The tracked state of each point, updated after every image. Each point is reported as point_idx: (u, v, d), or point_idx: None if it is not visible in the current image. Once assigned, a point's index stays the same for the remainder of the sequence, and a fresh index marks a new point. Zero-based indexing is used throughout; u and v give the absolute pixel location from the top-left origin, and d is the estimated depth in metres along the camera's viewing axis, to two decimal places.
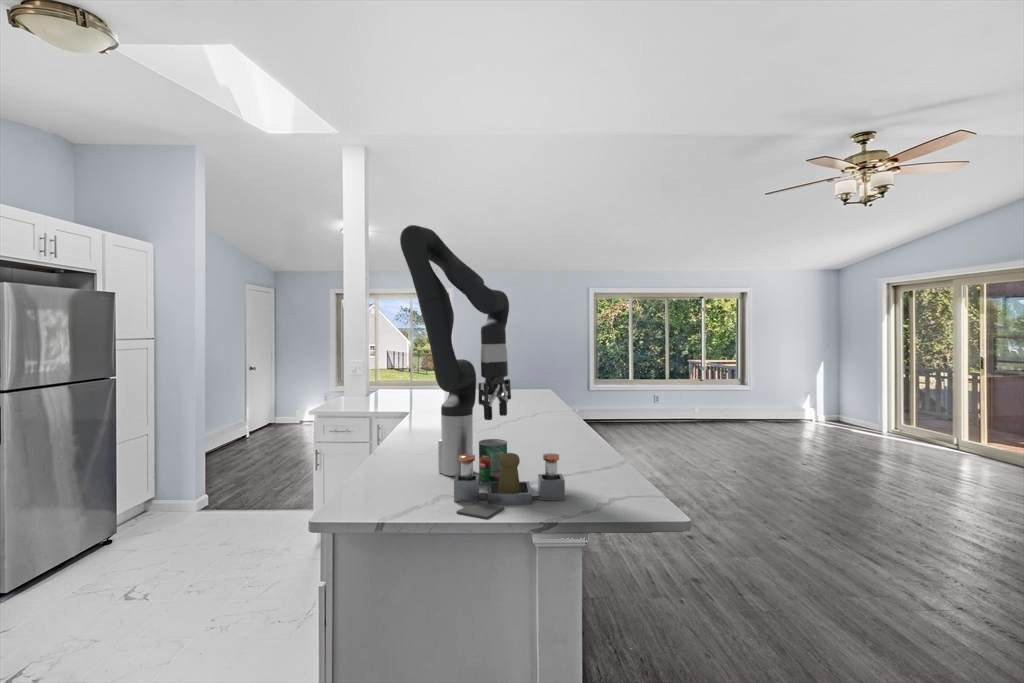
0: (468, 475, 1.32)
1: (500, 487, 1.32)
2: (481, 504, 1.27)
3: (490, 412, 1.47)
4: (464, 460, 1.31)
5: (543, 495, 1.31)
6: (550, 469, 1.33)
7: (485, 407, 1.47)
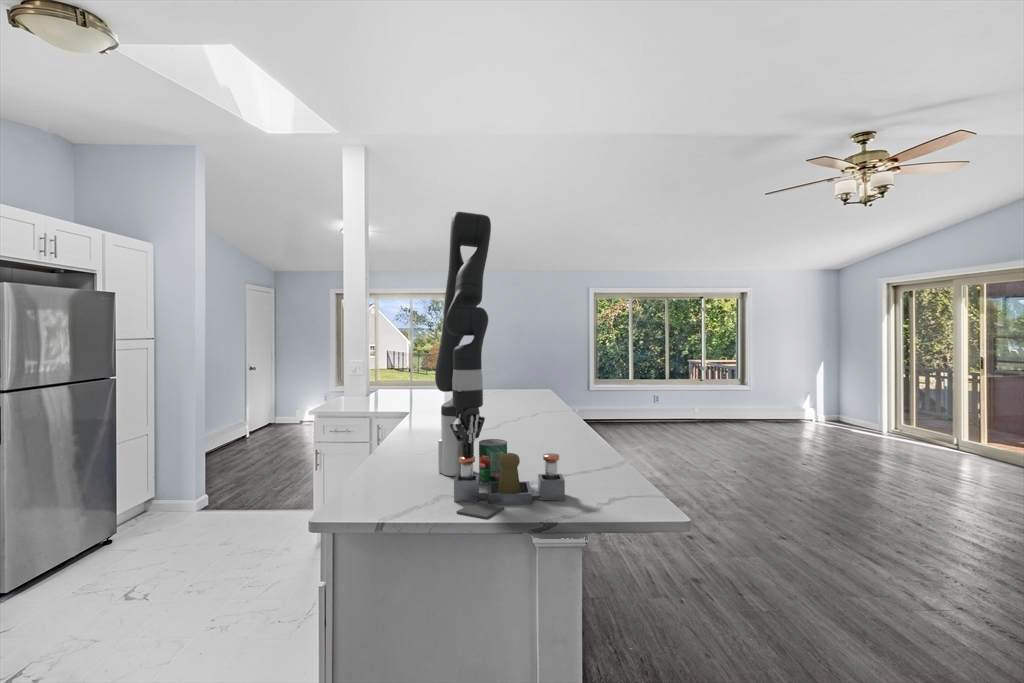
0: (468, 476, 1.32)
1: (500, 487, 1.32)
2: (481, 504, 1.27)
3: (470, 449, 1.32)
4: (464, 461, 1.31)
5: (543, 495, 1.31)
6: (550, 469, 1.33)
7: (464, 444, 1.32)
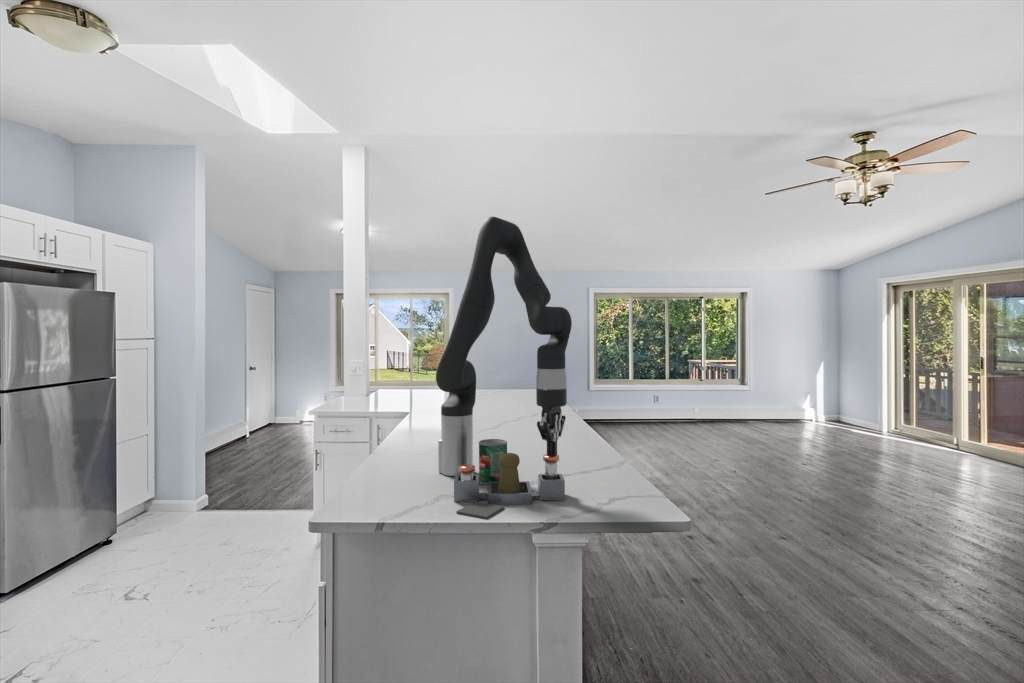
0: None
1: (500, 487, 1.32)
2: (481, 504, 1.27)
3: (554, 448, 1.33)
4: (464, 471, 1.31)
5: (543, 495, 1.31)
6: (550, 469, 1.33)
7: (549, 442, 1.33)
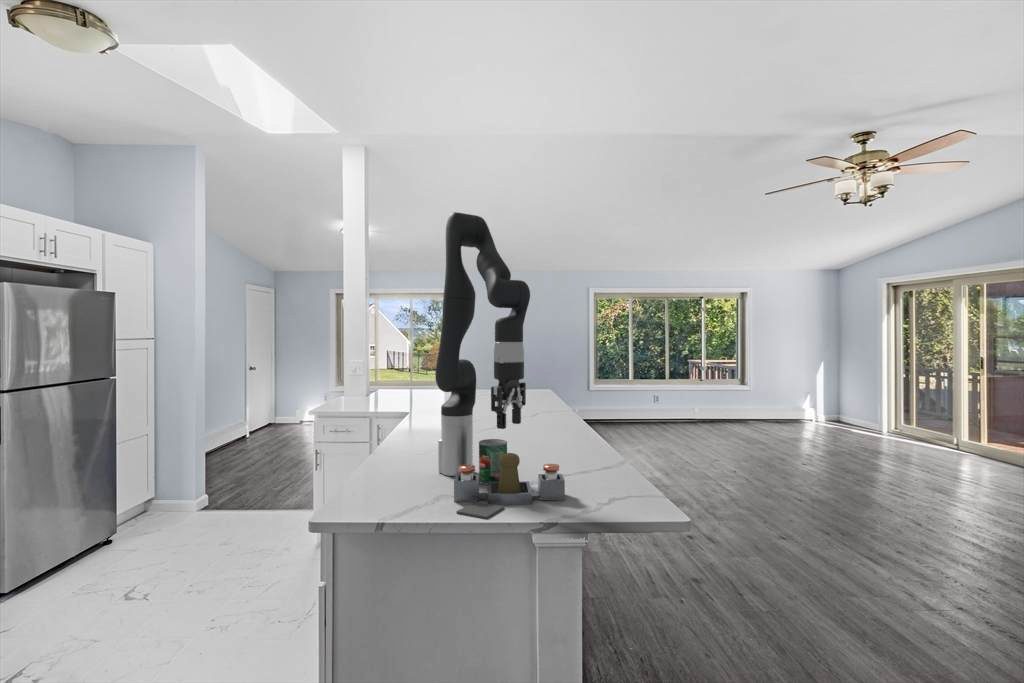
0: None
1: (500, 487, 1.32)
2: (481, 504, 1.27)
3: (504, 420, 1.29)
4: (464, 471, 1.31)
5: (543, 495, 1.31)
6: (550, 479, 1.33)
7: (498, 414, 1.29)
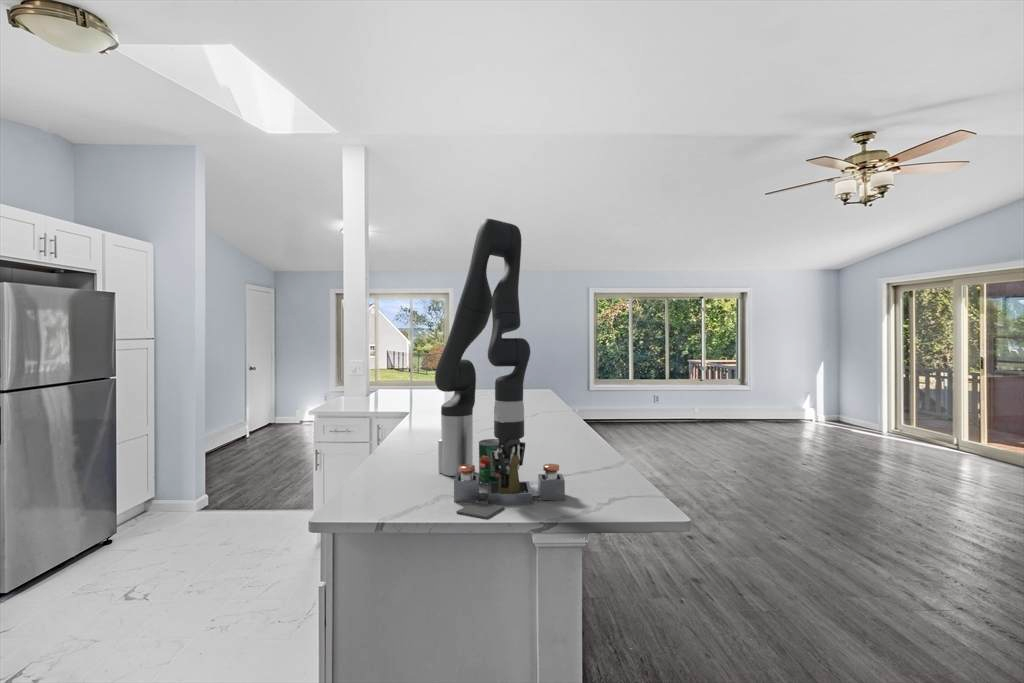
0: None
1: (500, 487, 1.32)
2: (481, 504, 1.27)
3: (507, 481, 1.31)
4: (464, 471, 1.31)
5: (543, 495, 1.31)
6: (550, 479, 1.33)
7: (502, 475, 1.31)
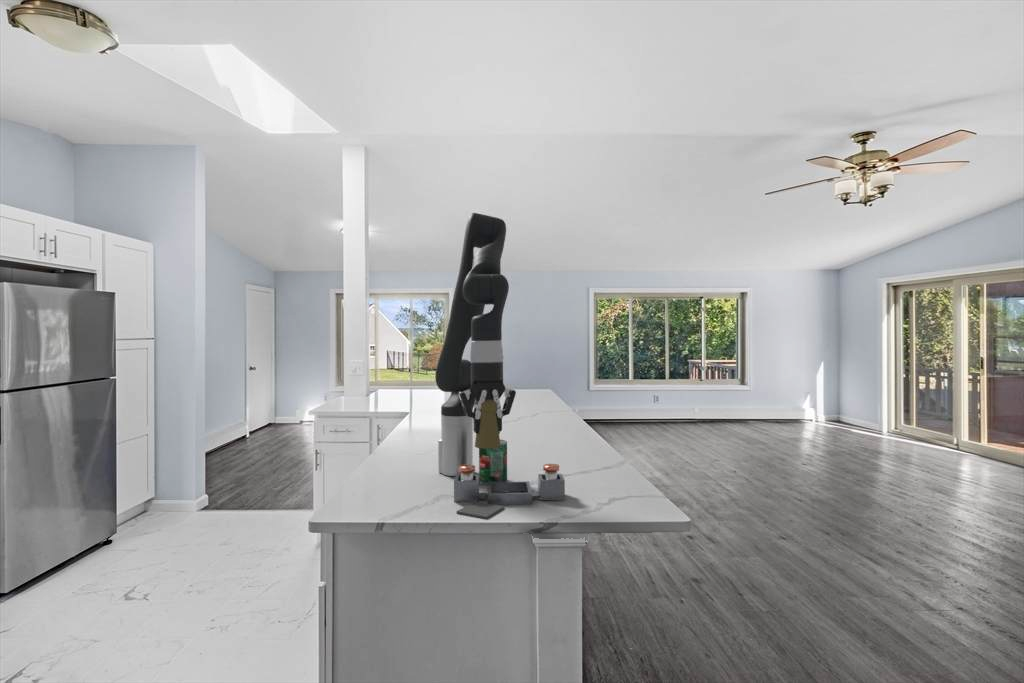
0: None
1: None
2: (481, 504, 1.27)
3: (478, 426, 1.23)
4: (464, 471, 1.31)
5: (543, 495, 1.31)
6: (550, 479, 1.33)
7: (473, 419, 1.23)
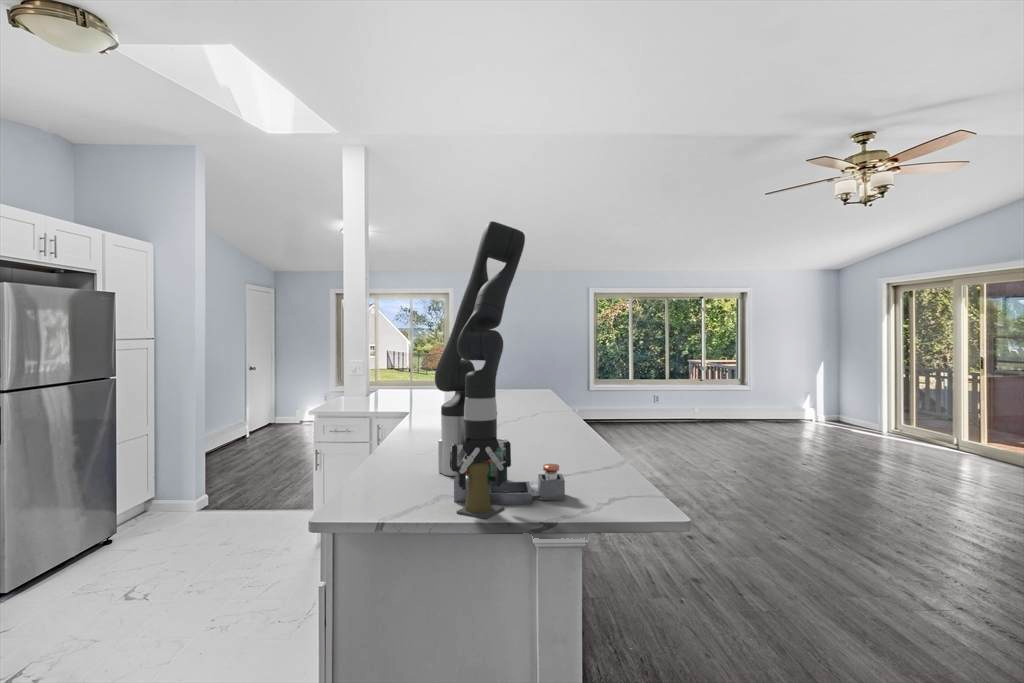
0: None
1: None
2: None
3: (462, 480, 1.21)
4: None
5: (543, 495, 1.31)
6: (550, 479, 1.33)
7: (458, 473, 1.22)
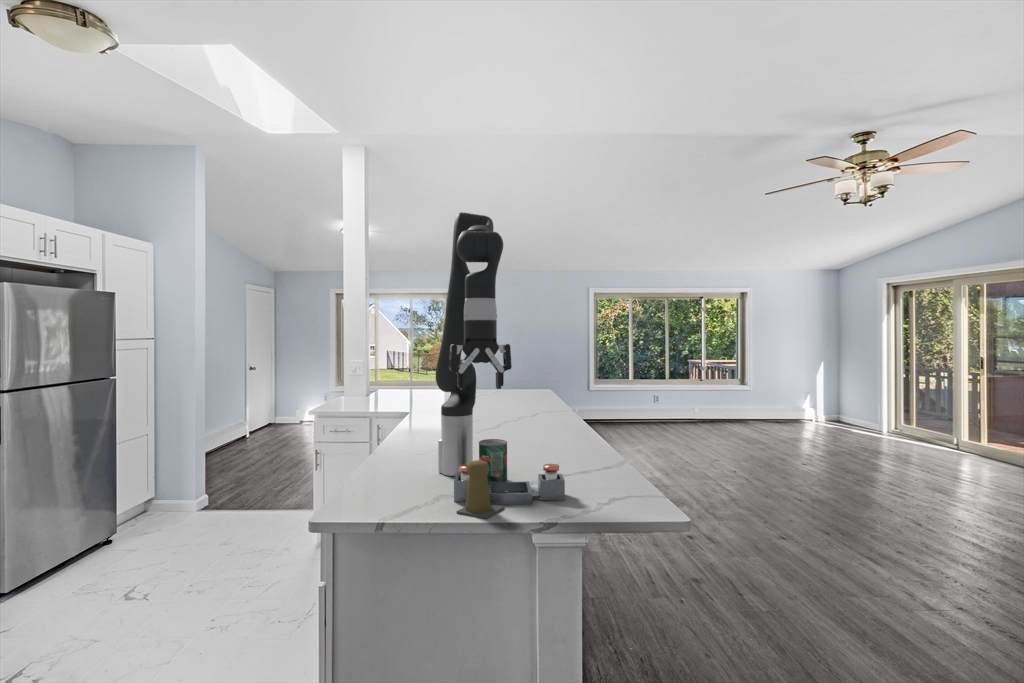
0: None
1: None
2: None
3: (461, 381, 1.21)
4: (464, 471, 1.31)
5: (543, 495, 1.31)
6: (550, 479, 1.33)
7: (457, 374, 1.22)
